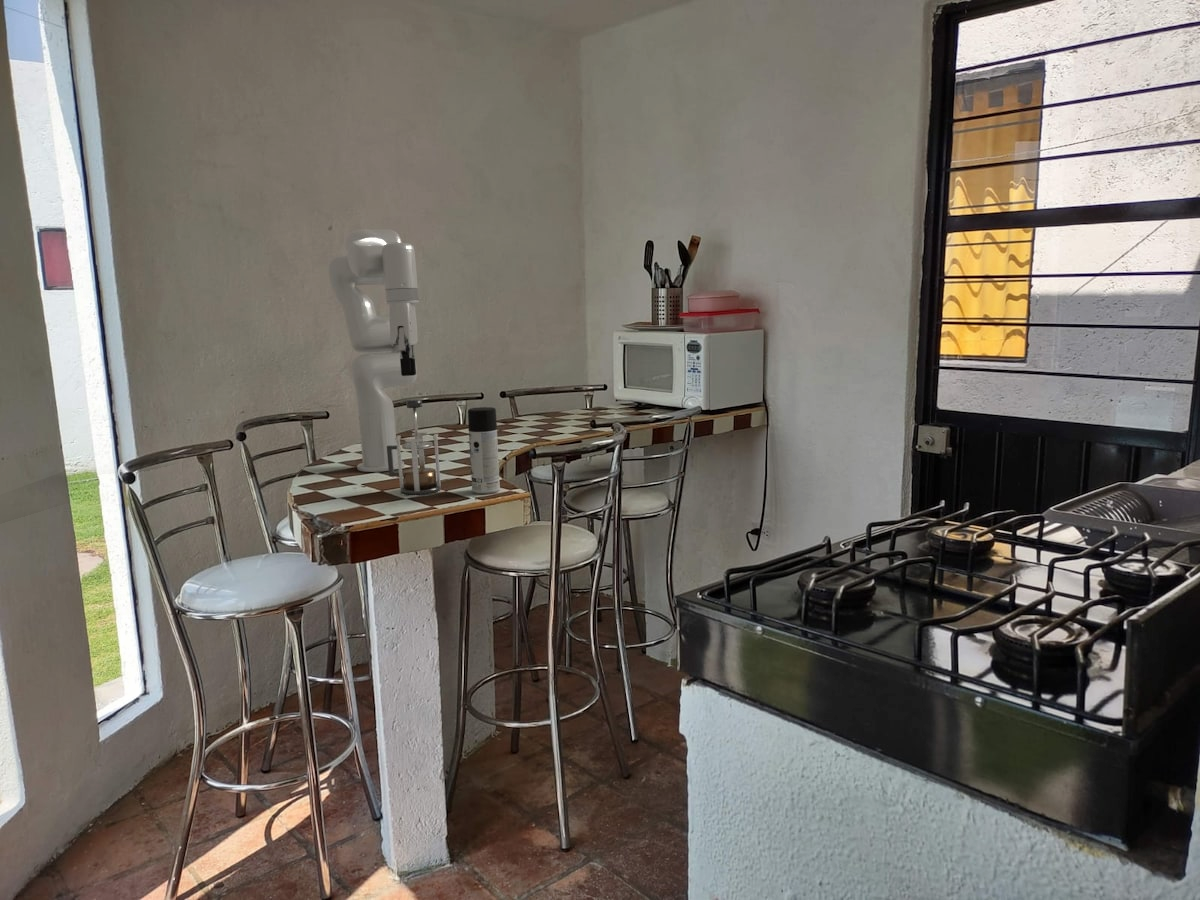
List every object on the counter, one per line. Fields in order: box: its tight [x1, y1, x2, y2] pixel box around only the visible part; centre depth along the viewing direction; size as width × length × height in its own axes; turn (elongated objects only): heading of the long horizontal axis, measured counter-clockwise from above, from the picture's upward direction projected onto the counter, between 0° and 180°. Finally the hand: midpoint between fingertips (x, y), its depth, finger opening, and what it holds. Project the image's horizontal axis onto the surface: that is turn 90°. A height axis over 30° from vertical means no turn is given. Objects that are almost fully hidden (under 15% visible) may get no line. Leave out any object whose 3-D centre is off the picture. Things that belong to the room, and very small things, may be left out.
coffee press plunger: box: [401, 398, 434, 450], centre depth 208 cm, size 7×7×11 cm
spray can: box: [467, 406, 501, 495], centre depth 206 cm, size 7×7×20 cm
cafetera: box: [387, 431, 442, 496], centre depth 210 cm, size 10×12×14 cm
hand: (408, 375), depth 207 cm, fingers closed
